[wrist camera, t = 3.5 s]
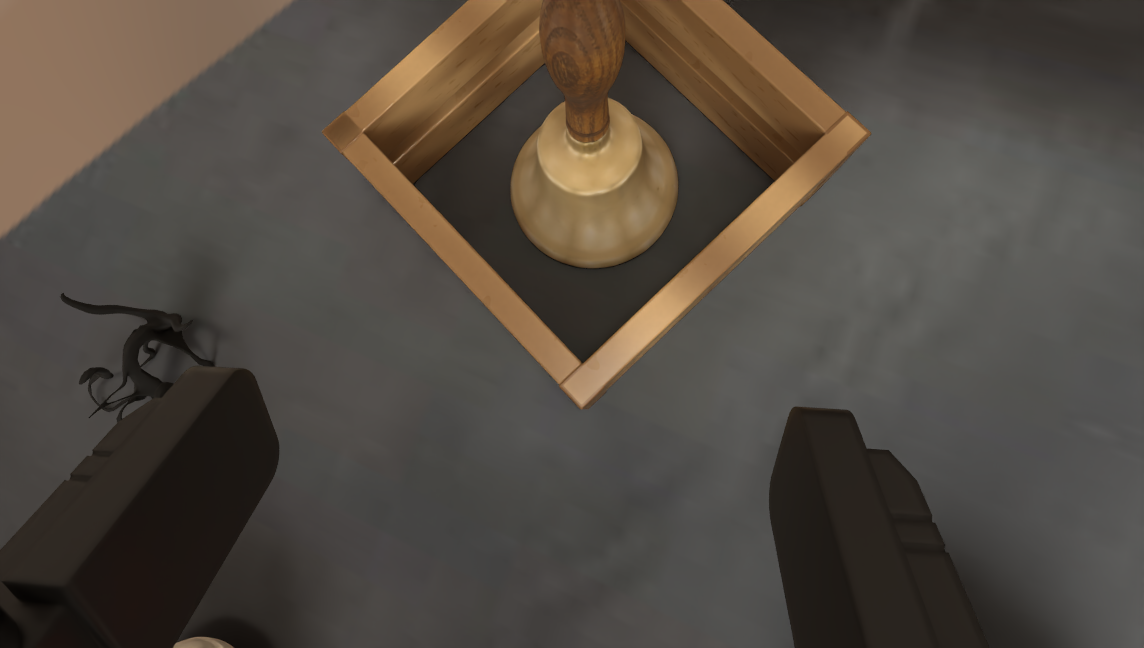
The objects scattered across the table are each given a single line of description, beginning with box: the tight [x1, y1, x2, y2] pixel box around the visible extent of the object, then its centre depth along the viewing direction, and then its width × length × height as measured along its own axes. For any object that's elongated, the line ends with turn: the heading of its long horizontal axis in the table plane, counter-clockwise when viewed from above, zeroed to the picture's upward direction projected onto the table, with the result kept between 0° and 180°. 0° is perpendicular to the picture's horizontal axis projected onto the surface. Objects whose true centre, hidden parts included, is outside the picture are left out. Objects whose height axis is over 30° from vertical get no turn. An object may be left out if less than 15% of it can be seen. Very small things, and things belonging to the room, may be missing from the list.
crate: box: [322, 0, 871, 409], centre depth 29 cm, size 16×16×6 cm
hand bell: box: [510, 0, 678, 268], centre depth 24 cm, size 8×8×16 cm
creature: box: [61, 293, 214, 423], centre depth 30 cm, size 8×5×8 cm
